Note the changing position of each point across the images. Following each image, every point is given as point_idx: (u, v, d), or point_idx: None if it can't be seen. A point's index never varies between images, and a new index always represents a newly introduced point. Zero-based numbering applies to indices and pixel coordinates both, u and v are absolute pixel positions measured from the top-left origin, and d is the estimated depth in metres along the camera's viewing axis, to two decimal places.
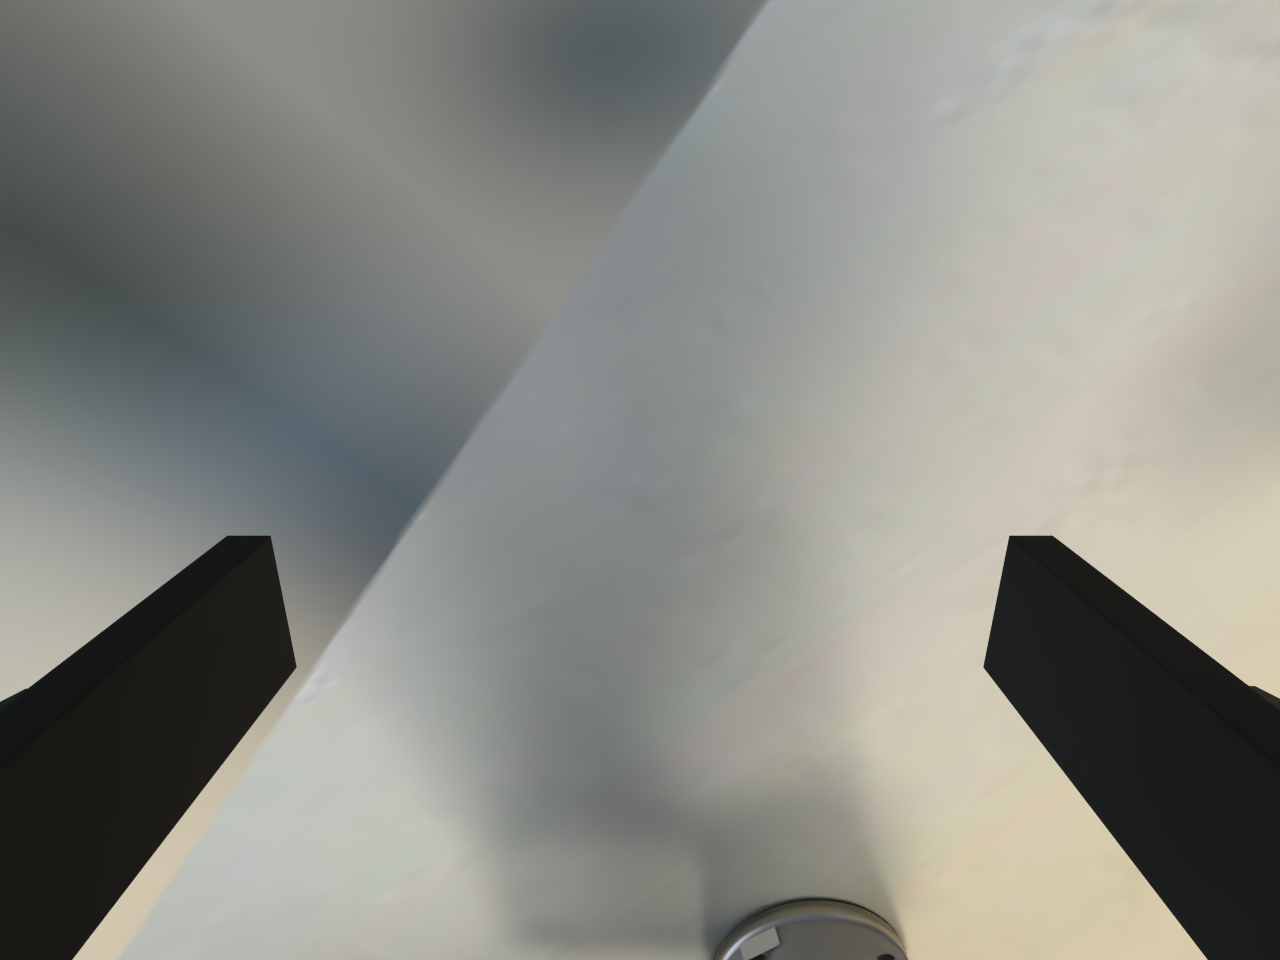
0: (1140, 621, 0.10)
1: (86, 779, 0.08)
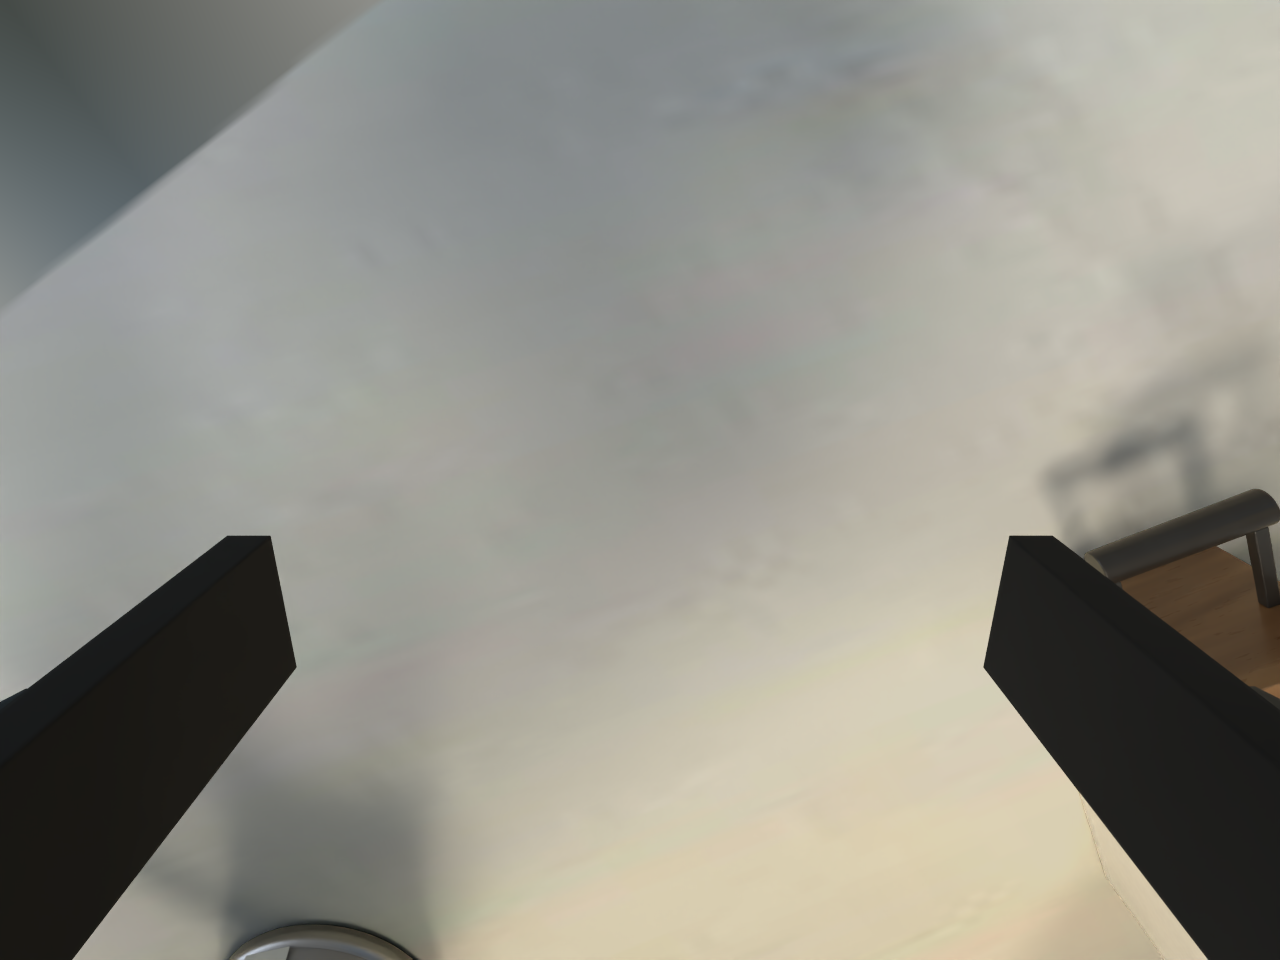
0: (1140, 621, 0.10)
1: (86, 779, 0.08)
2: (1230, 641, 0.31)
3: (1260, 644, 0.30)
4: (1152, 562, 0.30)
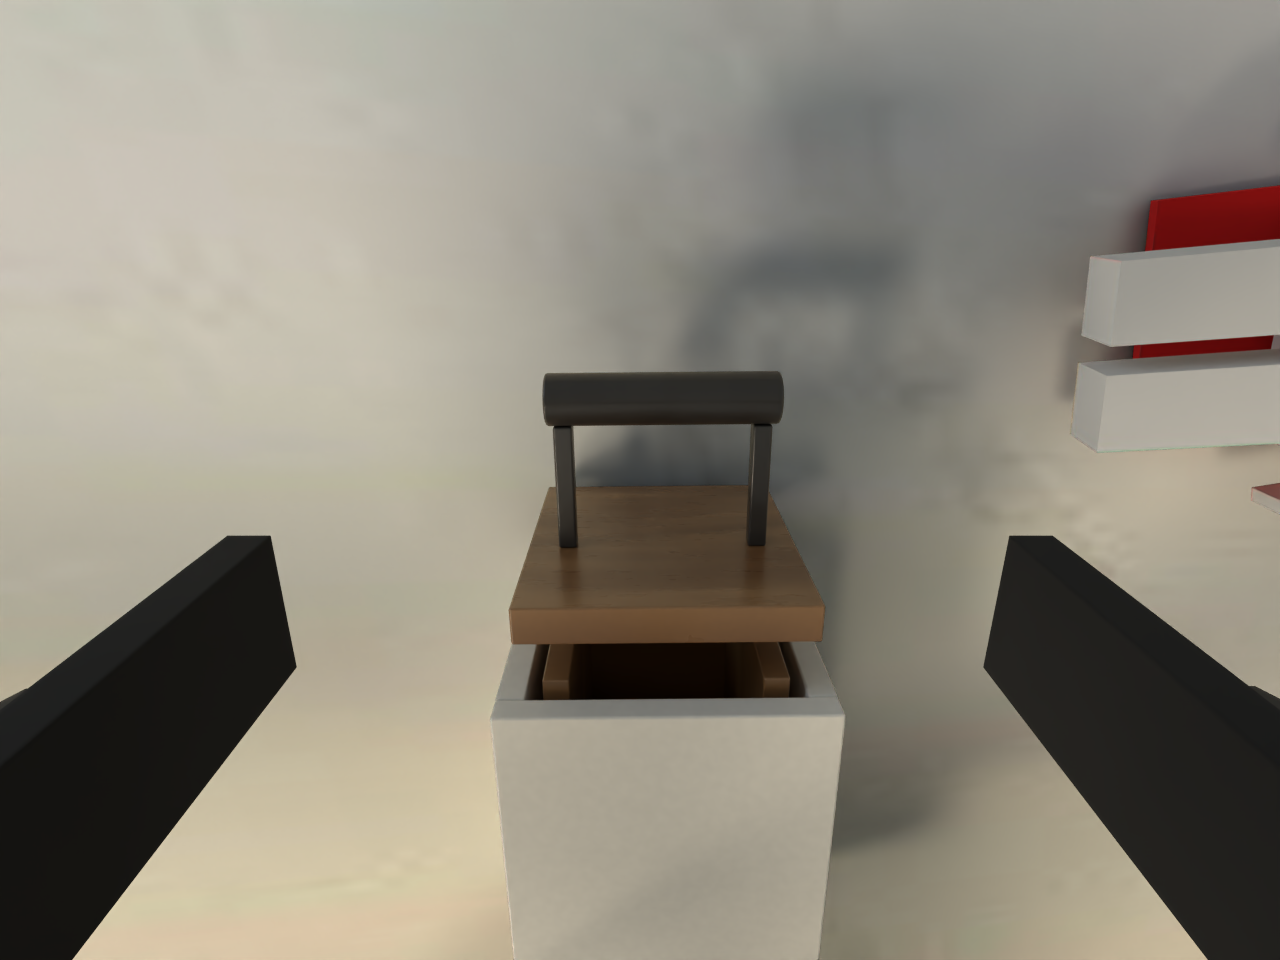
0: (1140, 621, 0.10)
1: (86, 779, 0.08)
2: (676, 561, 0.23)
3: (700, 571, 0.22)
4: (607, 407, 0.21)
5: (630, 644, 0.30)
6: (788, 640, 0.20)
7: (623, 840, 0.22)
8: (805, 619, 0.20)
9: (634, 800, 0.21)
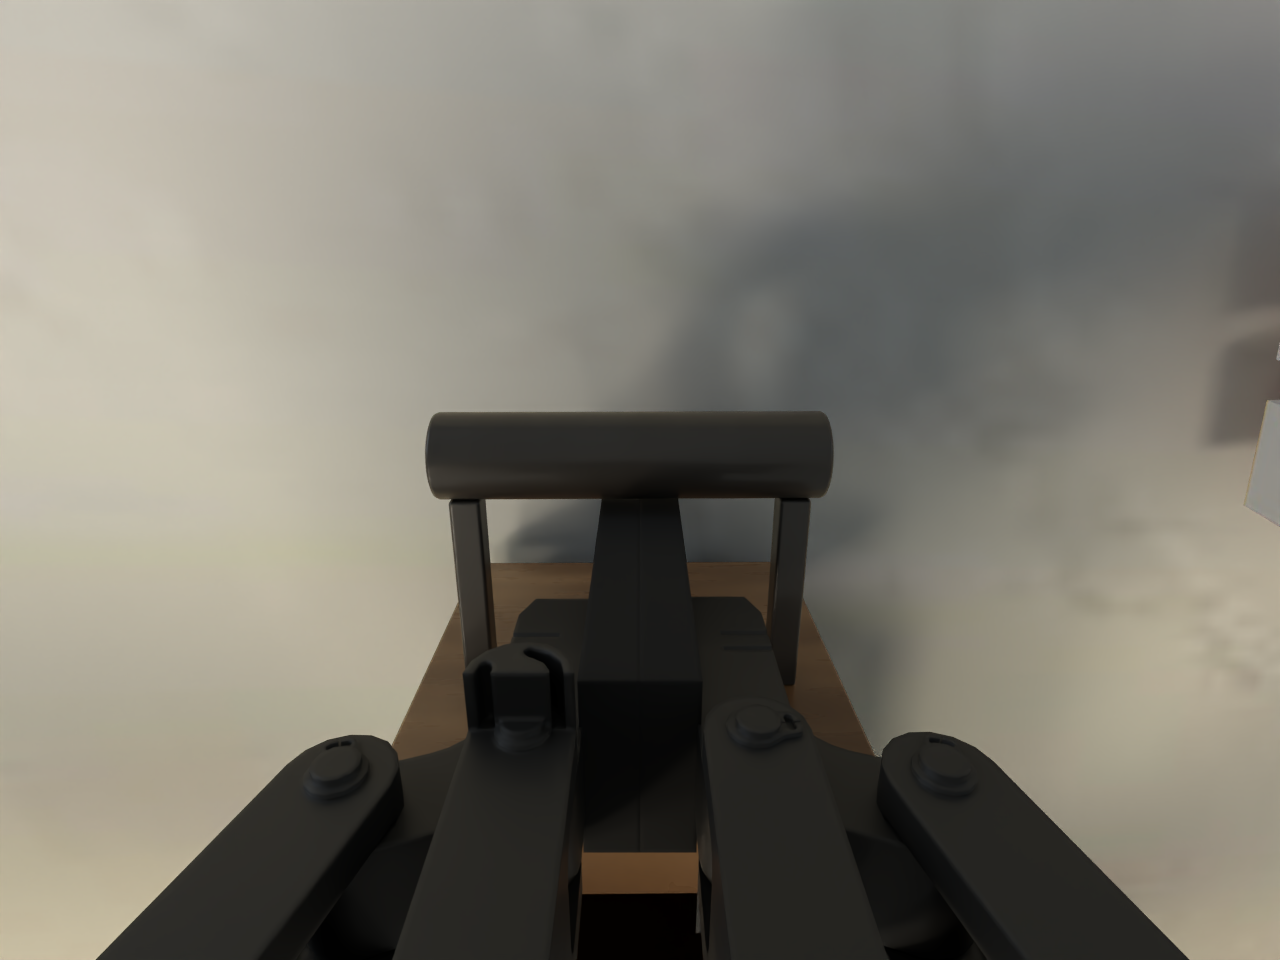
0: (665, 546, 0.12)
1: None
2: None
3: None
4: (535, 472, 0.13)
5: None
6: None
7: None
8: None
9: None
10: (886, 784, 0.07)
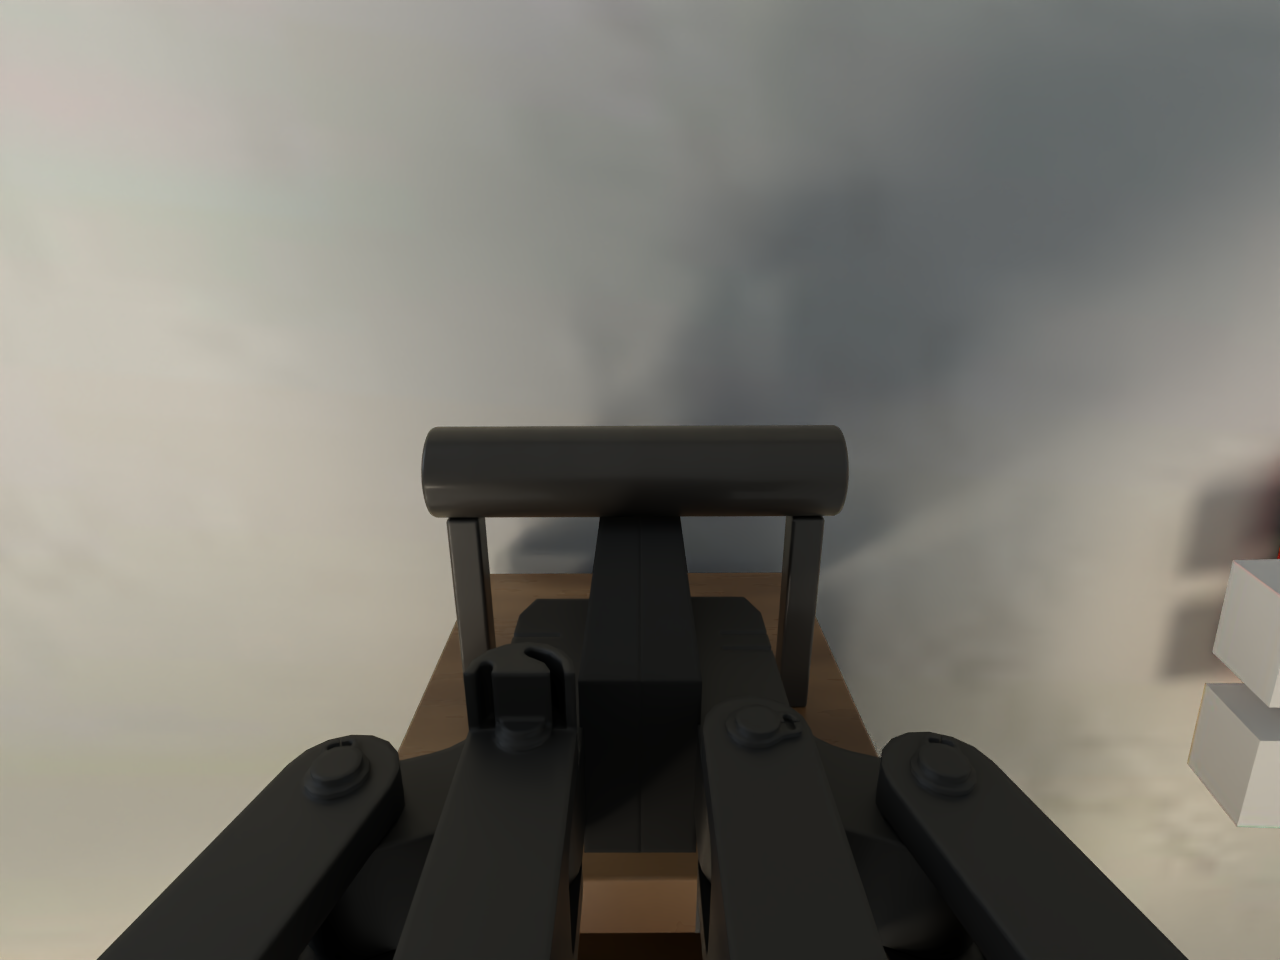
0: (665, 546, 0.12)
1: None
2: None
3: None
4: (536, 491, 0.12)
5: None
6: None
7: None
8: None
9: None
10: (885, 784, 0.07)
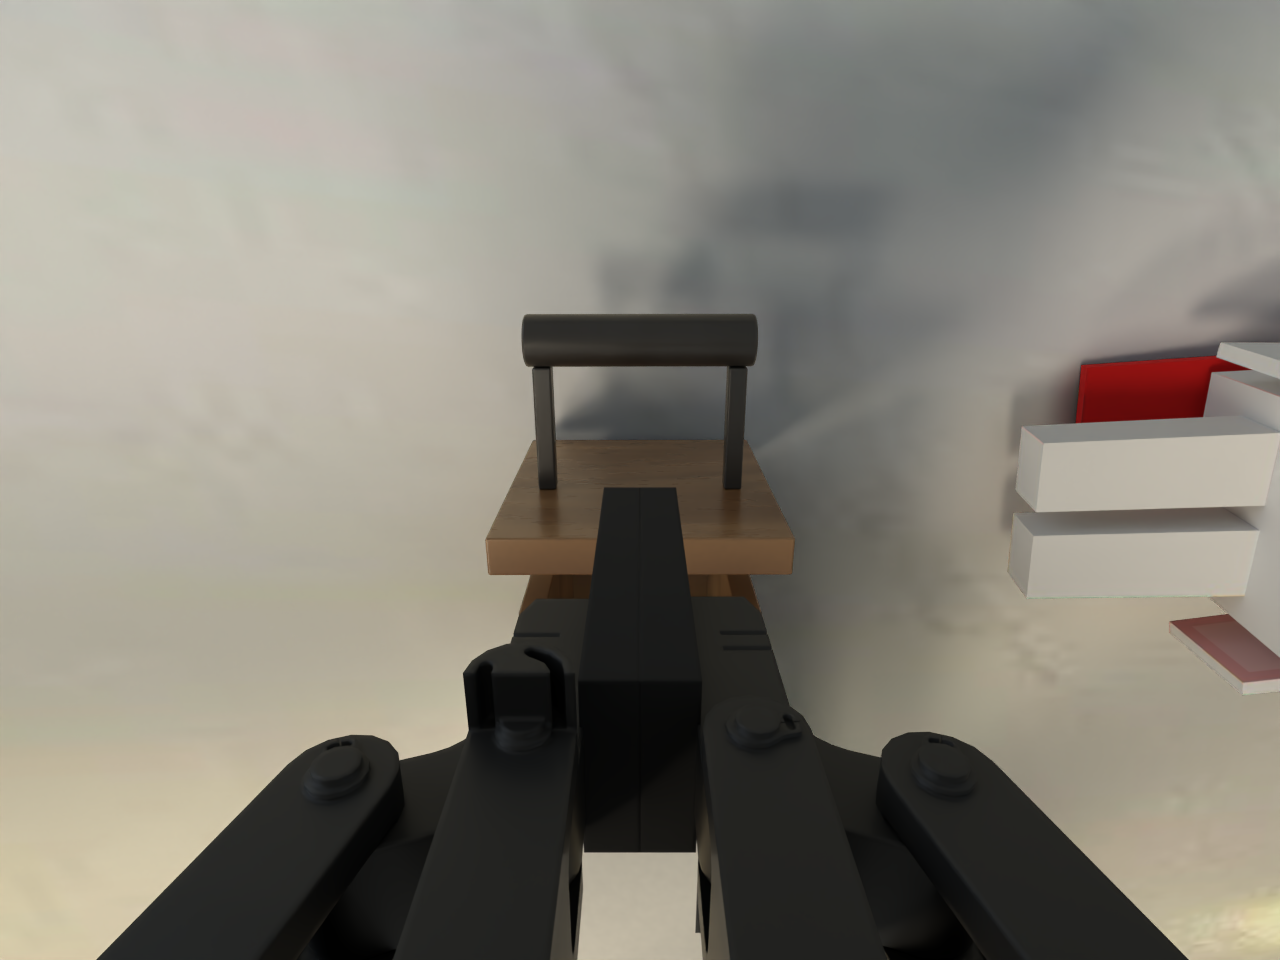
0: (665, 546, 0.12)
1: None
2: None
3: None
4: (585, 346, 0.22)
5: None
6: (759, 572, 0.21)
7: (602, 942, 0.25)
8: (775, 551, 0.21)
9: (611, 909, 0.24)
10: (885, 784, 0.07)
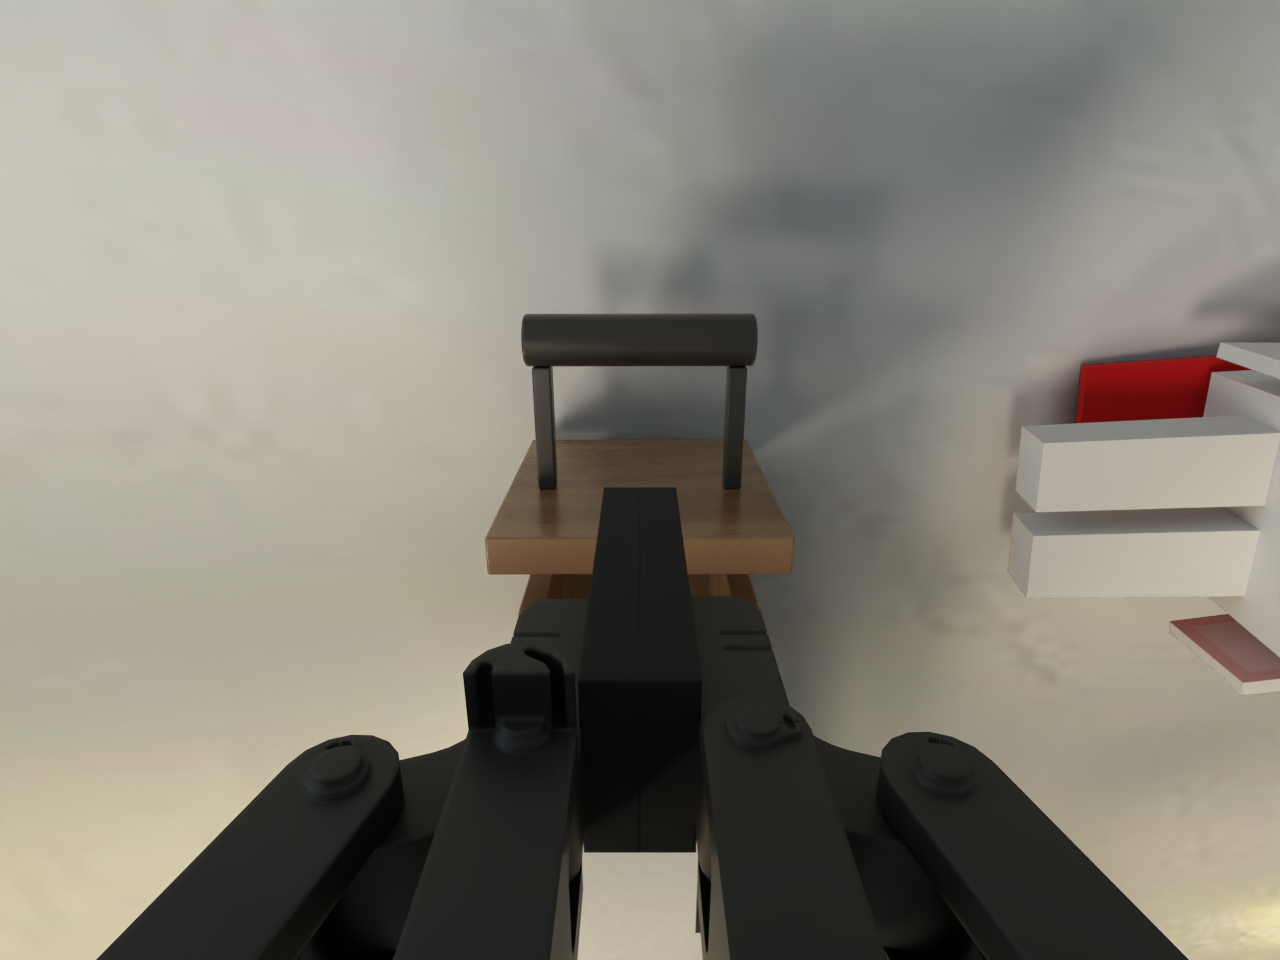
0: (665, 546, 0.12)
1: None
2: None
3: None
4: (584, 346, 0.22)
5: None
6: (758, 572, 0.21)
7: (602, 942, 0.25)
8: (775, 551, 0.21)
9: (611, 909, 0.24)
10: (885, 784, 0.07)
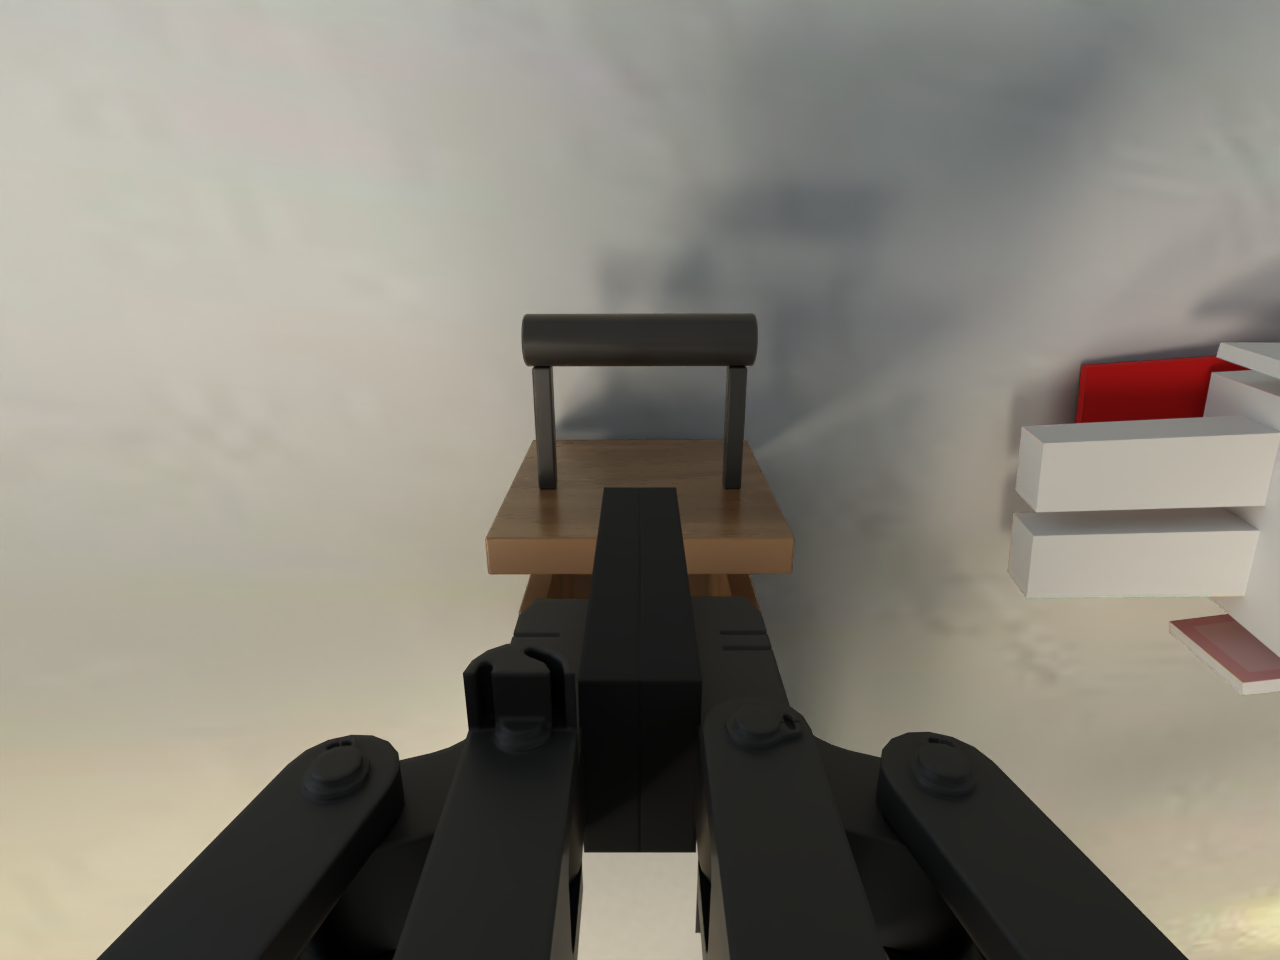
0: (665, 546, 0.12)
1: None
2: None
3: None
4: (585, 346, 0.22)
5: None
6: (758, 572, 0.21)
7: (602, 942, 0.25)
8: (774, 551, 0.21)
9: (611, 909, 0.24)
10: (885, 784, 0.07)
